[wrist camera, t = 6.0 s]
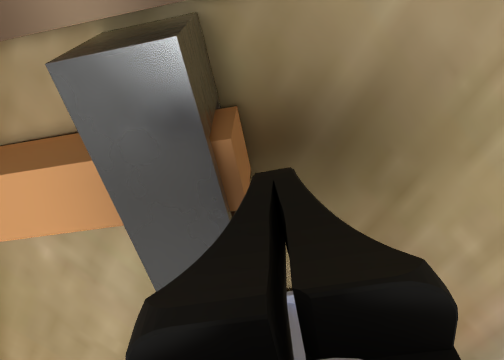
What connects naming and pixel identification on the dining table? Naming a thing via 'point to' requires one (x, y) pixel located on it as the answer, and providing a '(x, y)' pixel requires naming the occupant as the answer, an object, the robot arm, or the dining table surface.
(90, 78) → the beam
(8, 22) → the tray
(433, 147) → the dining table surface
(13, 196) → the shaft
